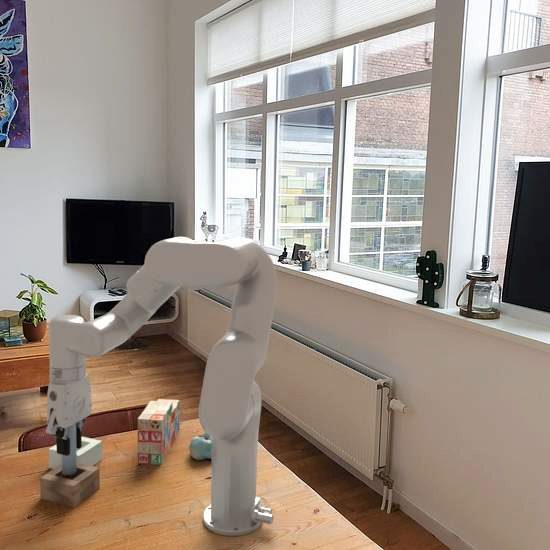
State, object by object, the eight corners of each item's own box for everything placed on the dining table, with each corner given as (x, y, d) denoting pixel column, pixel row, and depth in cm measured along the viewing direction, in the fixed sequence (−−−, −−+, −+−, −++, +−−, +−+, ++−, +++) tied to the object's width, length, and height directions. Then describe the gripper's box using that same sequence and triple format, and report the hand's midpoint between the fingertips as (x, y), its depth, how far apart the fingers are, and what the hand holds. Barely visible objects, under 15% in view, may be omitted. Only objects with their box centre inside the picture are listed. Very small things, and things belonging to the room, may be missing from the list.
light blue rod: (79, 469, 135) (78, 402, 133) (70, 476, 132) (69, 407, 130) (68, 467, 136) (67, 400, 134) (58, 473, 133) (57, 405, 131)
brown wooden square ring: (99, 488, 138) (99, 467, 137) (74, 507, 129) (73, 486, 128) (67, 480, 141) (67, 460, 140) (40, 498, 132) (40, 477, 131)
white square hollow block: (102, 459, 151) (102, 440, 151) (79, 475, 143) (79, 455, 142) (73, 452, 154) (73, 434, 154) (49, 468, 146) (48, 448, 145)
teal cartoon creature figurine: (241, 433, 157) (210, 439, 148) (237, 459, 158) (205, 467, 148) (212, 422, 164) (180, 427, 155) (208, 447, 164) (176, 454, 155)
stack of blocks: (158, 429, 171) (158, 388, 169) (179, 430, 171) (180, 389, 169) (137, 464, 150) (137, 418, 148) (161, 465, 149) (162, 419, 148)
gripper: (56, 386, 122) (57, 470, 124) (105, 364, 137) (105, 439, 140) (27, 380, 124) (29, 463, 127) (78, 359, 139) (79, 433, 142)
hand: (69, 449), depth 133 cm, fingers closed on light blue rod, 3 cm apart
